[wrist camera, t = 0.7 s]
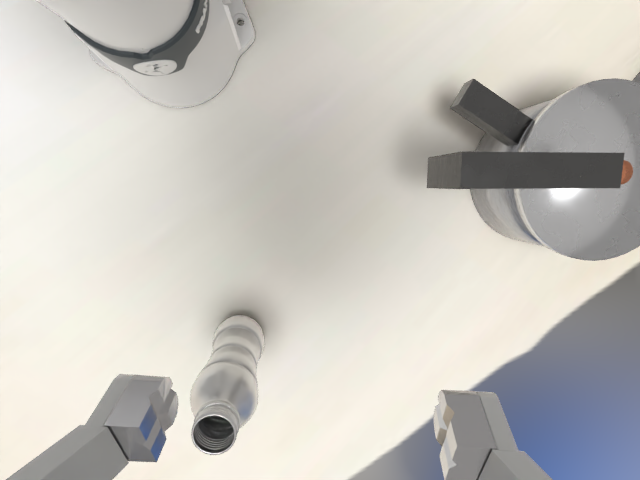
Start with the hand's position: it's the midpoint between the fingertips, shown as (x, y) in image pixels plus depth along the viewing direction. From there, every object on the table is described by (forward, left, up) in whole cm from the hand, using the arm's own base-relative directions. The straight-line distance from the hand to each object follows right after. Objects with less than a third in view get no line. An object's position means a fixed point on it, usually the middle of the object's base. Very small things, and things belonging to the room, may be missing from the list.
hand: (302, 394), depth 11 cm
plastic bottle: (+12, -9, -37) cm, 40 cm away
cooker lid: (-2, +29, -27) cm, 40 cm away
